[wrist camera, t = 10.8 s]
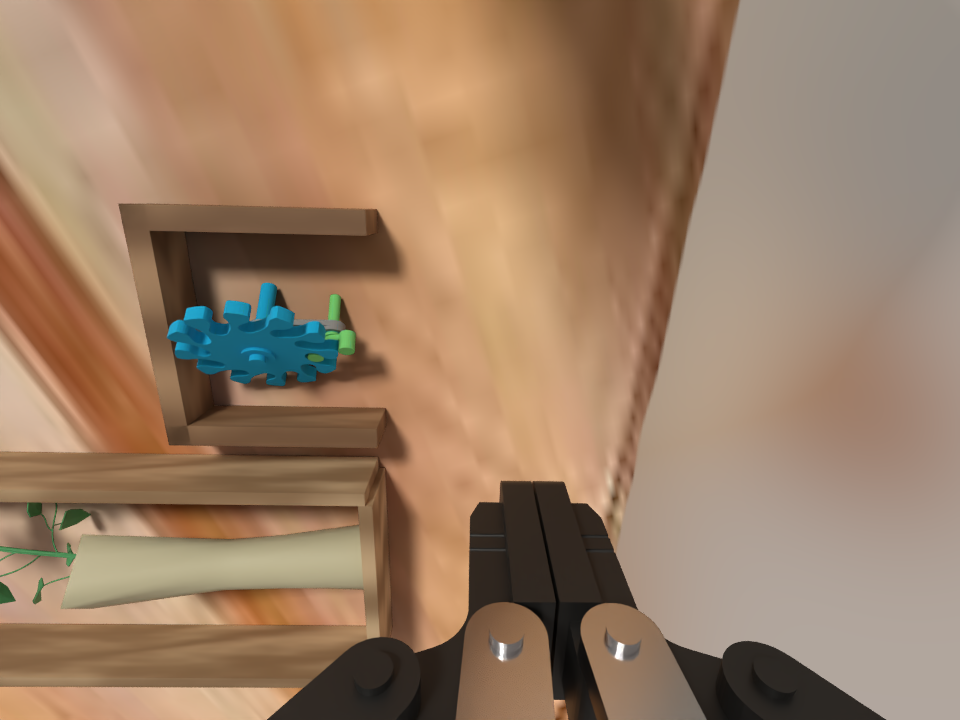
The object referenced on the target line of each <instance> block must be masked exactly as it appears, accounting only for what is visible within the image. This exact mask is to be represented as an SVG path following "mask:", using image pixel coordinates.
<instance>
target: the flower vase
mask: <svg viewBox="0 0 960 720" xmlns="http://www.w3.org/2000/svg"><path fill="white" fill-rule="evenodd" d="M55 504H56V511H55V516H54V520H53V526H52V530H51V529H50V528H49V527H48V525H47V522H46V519H45V517H44V516H43V515H42V514H41V513H42V503H40V502H27V513H28V515H29V517H33V516H37V515H42V516H43V517H44V519H45V522H46V525H47V527H48V528H49V529H50V530H51V531H52V542H53V546H54V548H55V551H56V552H49V551H38V550H28V549H19V548H11V547H3V546H0V551H3V552H10V553H12V554H14V553H20V554H31V555H39V556H38V557H40V556H41V555H42V556H53V557H63V558H67V561H66V565H67V566H70V564H71V563H72V561H73V560H74V559H75V561H74V564H73V568H72V571H71V575H70V576H68V577H70V578H69V582H68V585H67V588H66V592H65V595H64V599H63V602H62V606H61V609H93V608H100V607H107V606H114V605H121V604H128V603H135V602H142V601H149V600H157V599H164V598H171V597H178V596H185V595H192V594H199V593H206V592H213V591H220V590H239V589H274V588H330V589H362V590H364V588H363V573H362V559H361V545H360V530H359V525H353V526H346V527H339V528H331V529H324V530H317V531H309V532H302V533H295V534H287V535H277V536H266V537H254V538H241V539H206V538H174V537H142V536H110V535H82V537H81V540H80V544H79V547H78V551H77V554H73V552H72V550H71V548H70V547H71V545H70V544H69V543H67V551H68V553H62V552H58V551H57V549H56V547H55V544H54V538H53V529H54V526H55V525H54V522H55V517H56V513H57V503H55ZM90 515H91V514H89V513H88V512H86V511H84V510H82V509H71V510H68V511H65V514H64V517H63V520H62V523H59V524H61V526H60V529H59V530H62V529H64V528H67V527H70V526H72V525H75V524H77V523H79V522H80V521H82V520H84V519H85V518H87V517H88V516H90ZM59 524H56V525H59ZM12 554H10V555H12ZM10 555H8V556H10ZM8 556H6V557H8ZM6 557H4V558H2V559H1V560H3V559H5V558H6ZM38 557H37V558H38ZM37 558H35V559H34V560H33V561H35V560H36V559H37ZM1 560H0V561H1ZM33 561H32V562H33ZM32 562H30V563H29V564H31V563H32ZM29 564H27V565H25V566H24V567H26V566H28V565H29ZM24 567H22V568H24ZM22 568H20V569H22ZM20 569H18V570H20ZM18 570H16V571H18ZM16 571H13V572H10V573H7V574H4V575H1V576H5V575H8V574H11V573H14V572H16ZM1 576H0V577H1ZM68 577H64V578H61V579H65V578H68ZM61 579H57V580H54V581H52V582H55V581H58V580H61ZM52 582H49V583H52ZM49 583H47V584H49ZM47 584H45V585H47ZM45 585H44V583H43V579H42V578H41V579H40V580H39V584H38V590H37V593H36V595H35V597H34V599H33V603H34V604H36V603H38V602H40V601H41V590H42V588H43V586H45ZM14 601H16V600H15V599H14V597H13V595H12V593H11V592H10V590H9V588H8V587H7V586H6V585H4V584H3V583H1V582H0V604H2V603H8V602H14Z"/></svg>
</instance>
